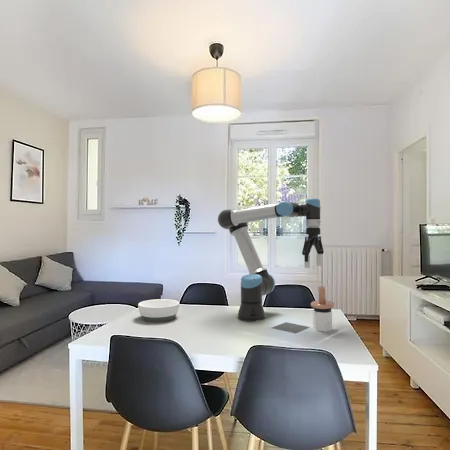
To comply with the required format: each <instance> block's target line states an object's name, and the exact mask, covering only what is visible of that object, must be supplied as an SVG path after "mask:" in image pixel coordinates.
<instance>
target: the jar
mask: <svg viewBox="0 0 450 450" xmlns="http://www.w3.org/2000/svg"><path fill="white" fill-rule="evenodd" d="M312 315H313V316H312V317H313V321H312V323H313V324H312V325H313V326H312V327H313V329H314V330H315V331H319V332H331V331H332V330H333V312H332V308H330V309H316V308H313V310H312Z"/></svg>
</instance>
